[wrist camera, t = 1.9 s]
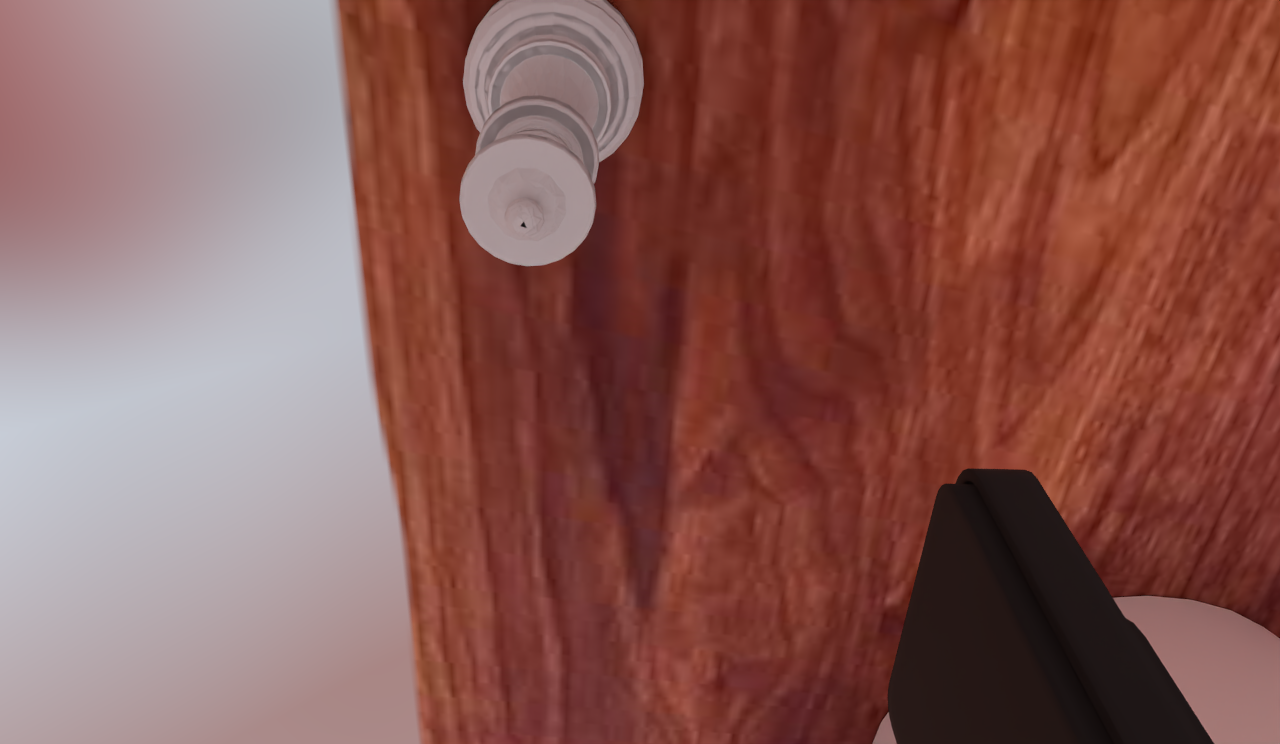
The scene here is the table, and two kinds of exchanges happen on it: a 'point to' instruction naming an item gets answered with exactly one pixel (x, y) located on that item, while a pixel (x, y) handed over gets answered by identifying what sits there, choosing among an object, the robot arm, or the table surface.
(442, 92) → the table surface
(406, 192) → the table surface
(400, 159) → the table surface
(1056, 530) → the robot arm
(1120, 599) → the white tapered cylinder
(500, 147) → the chess piece
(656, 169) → the table surface
